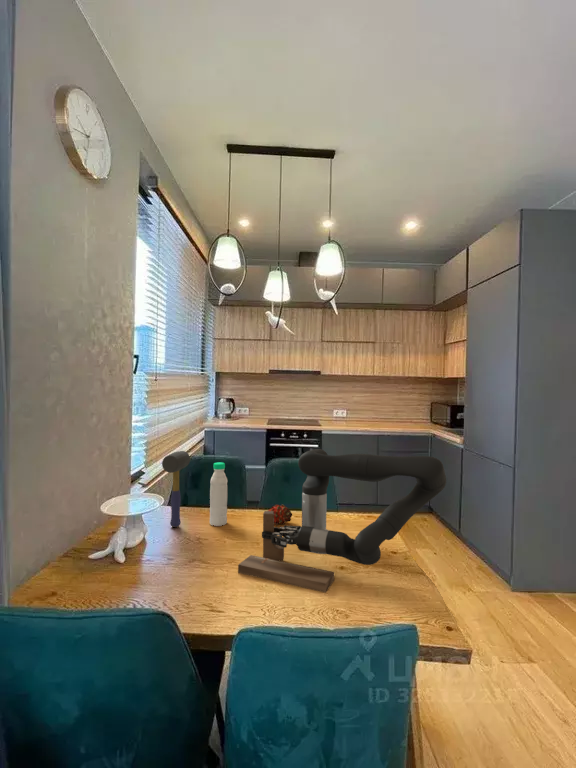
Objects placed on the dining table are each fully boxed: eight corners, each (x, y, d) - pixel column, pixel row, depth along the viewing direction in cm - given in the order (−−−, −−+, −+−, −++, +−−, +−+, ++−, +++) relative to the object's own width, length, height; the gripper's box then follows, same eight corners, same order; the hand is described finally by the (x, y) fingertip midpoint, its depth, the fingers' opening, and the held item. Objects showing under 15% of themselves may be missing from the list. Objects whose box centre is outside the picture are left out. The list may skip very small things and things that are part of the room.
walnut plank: (250, 562, 133) (250, 554, 133) (334, 580, 122) (334, 571, 122) (238, 572, 126) (238, 564, 126) (325, 592, 115) (325, 583, 115)
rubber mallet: (173, 521, 172) (174, 449, 172) (190, 522, 171) (191, 450, 171) (159, 531, 160) (160, 454, 160) (177, 533, 158) (178, 455, 159)
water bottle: (225, 526, 167) (226, 464, 167) (207, 526, 167) (208, 464, 167) (228, 521, 174) (229, 461, 174) (211, 520, 174) (212, 461, 174)
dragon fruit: (293, 529, 169) (265, 531, 172) (295, 512, 176) (268, 514, 179) (289, 516, 165) (260, 518, 167) (291, 499, 172) (263, 501, 174)
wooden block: (262, 560, 133) (263, 513, 134) (264, 556, 137) (264, 510, 137) (283, 561, 133) (283, 513, 134) (284, 557, 136) (284, 511, 137)
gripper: (322, 521, 135) (274, 514, 142) (306, 535, 122) (255, 527, 129) (322, 544, 135) (274, 536, 142) (306, 560, 122) (255, 551, 129)
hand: (265, 532), depth 136 cm, fingers closed on wooden block, 4 cm apart
